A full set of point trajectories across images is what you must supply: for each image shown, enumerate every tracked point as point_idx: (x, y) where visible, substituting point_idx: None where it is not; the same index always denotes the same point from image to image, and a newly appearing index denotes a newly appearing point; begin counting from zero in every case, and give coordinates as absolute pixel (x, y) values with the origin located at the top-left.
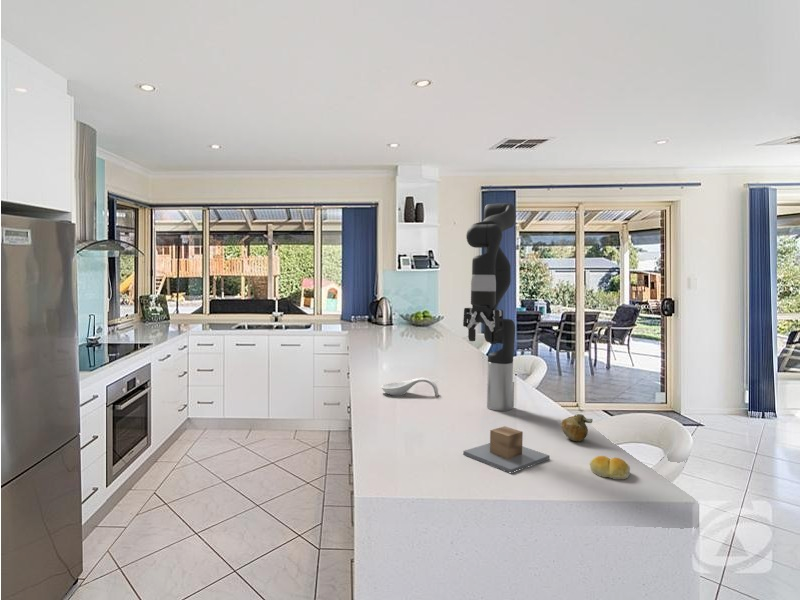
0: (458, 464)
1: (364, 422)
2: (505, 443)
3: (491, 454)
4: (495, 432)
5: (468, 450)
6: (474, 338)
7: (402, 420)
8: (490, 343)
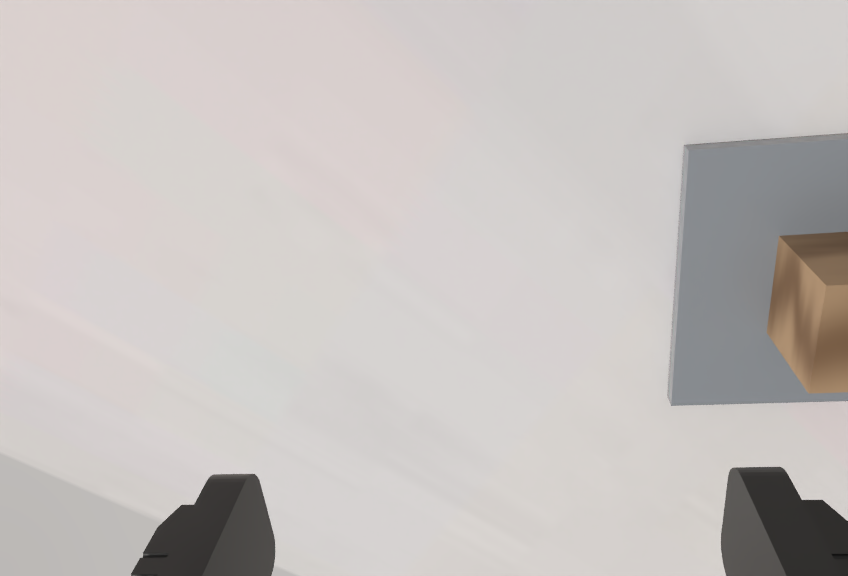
0: (727, 469)
1: (91, 466)
2: None
3: None
4: (845, 390)
5: (681, 386)
6: (243, 516)
7: (117, 325)
8: (733, 560)
